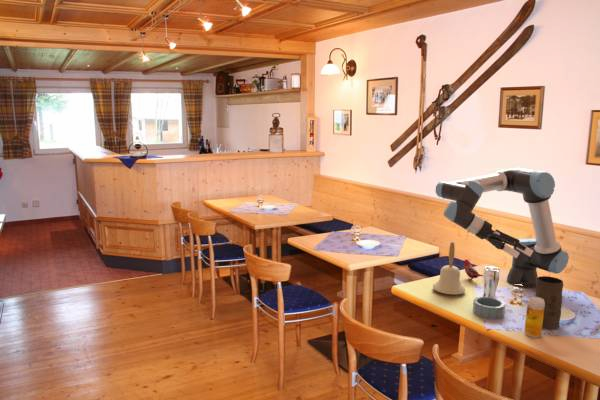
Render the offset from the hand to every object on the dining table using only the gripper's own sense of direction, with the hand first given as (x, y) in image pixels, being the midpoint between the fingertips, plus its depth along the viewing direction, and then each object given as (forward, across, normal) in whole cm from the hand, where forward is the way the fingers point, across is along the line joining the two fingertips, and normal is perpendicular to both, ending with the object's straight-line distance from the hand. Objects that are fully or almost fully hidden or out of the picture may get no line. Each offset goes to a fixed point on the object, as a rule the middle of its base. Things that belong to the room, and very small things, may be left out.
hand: (524, 254), depth 205 cm
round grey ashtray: (+4, -16, -27) cm, 31 cm away
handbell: (-10, -39, -25) cm, 48 cm away
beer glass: (+6, -32, -19) cm, 37 cm away
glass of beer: (+17, +3, -27) cm, 32 cm away
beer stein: (+22, -9, -19) cm, 31 cm away
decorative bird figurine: (+2, -54, -12) cm, 56 cm away
